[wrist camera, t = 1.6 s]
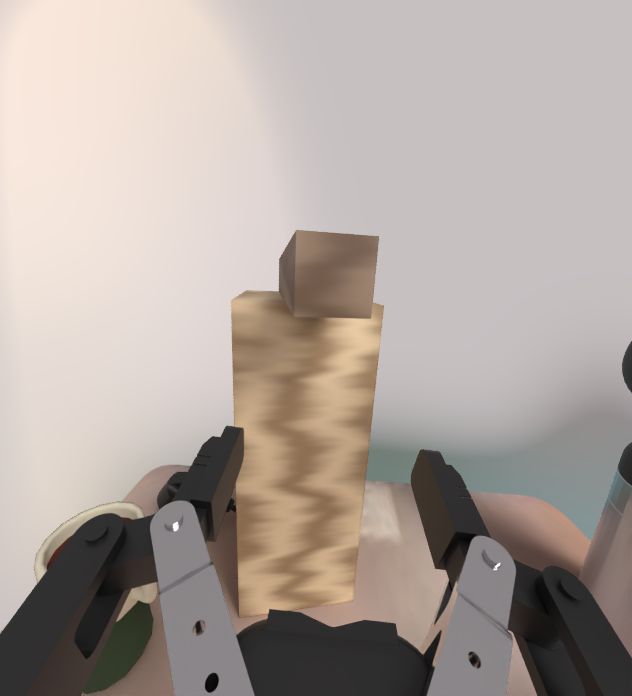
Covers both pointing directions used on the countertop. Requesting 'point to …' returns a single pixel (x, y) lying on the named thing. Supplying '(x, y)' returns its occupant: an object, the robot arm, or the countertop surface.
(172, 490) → the power plug
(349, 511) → the stand
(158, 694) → the countertop surface
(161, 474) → the countertop surface
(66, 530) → the character mug
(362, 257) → the rod
